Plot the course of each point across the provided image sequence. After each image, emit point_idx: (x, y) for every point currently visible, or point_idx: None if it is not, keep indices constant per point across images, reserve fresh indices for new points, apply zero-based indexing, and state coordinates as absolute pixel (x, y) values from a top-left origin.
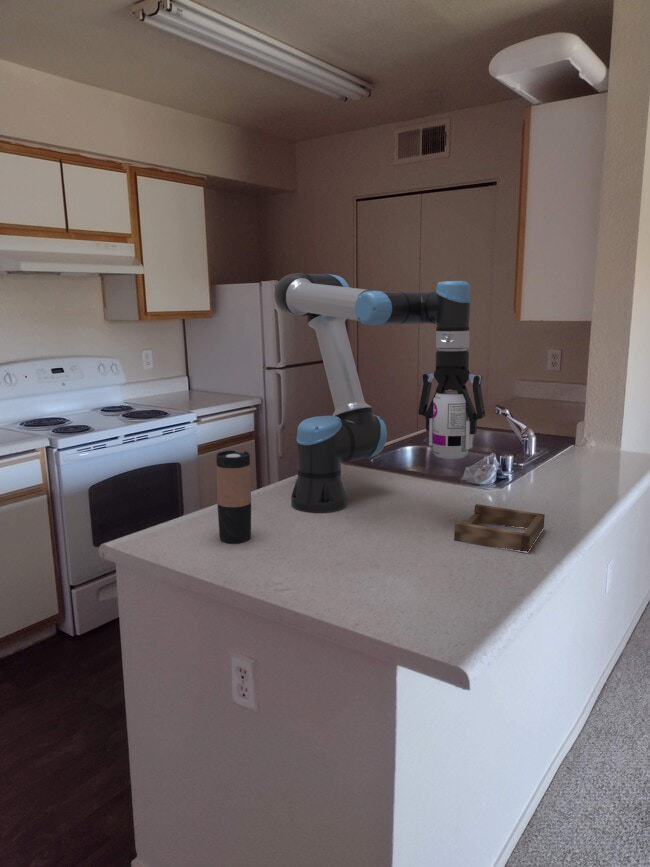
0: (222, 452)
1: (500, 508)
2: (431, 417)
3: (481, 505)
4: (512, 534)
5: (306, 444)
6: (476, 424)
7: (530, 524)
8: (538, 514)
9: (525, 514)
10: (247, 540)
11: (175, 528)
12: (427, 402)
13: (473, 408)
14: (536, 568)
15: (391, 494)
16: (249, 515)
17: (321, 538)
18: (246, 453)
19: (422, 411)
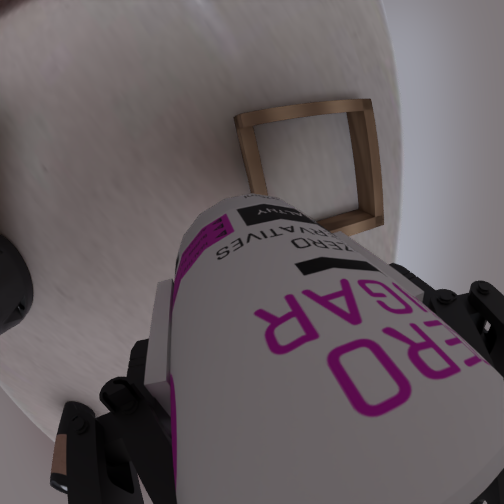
0: (54, 487)
1: (297, 109)
2: (166, 413)
3: (254, 116)
4: (363, 230)
5: None
6: (426, 288)
7: (372, 169)
8: (364, 104)
9: (345, 111)
10: (91, 410)
11: (37, 417)
12: (111, 496)
13: (474, 345)
14: (384, 252)
15: (14, 125)
16: None
17: (123, 369)
18: (62, 483)
19: (132, 464)
